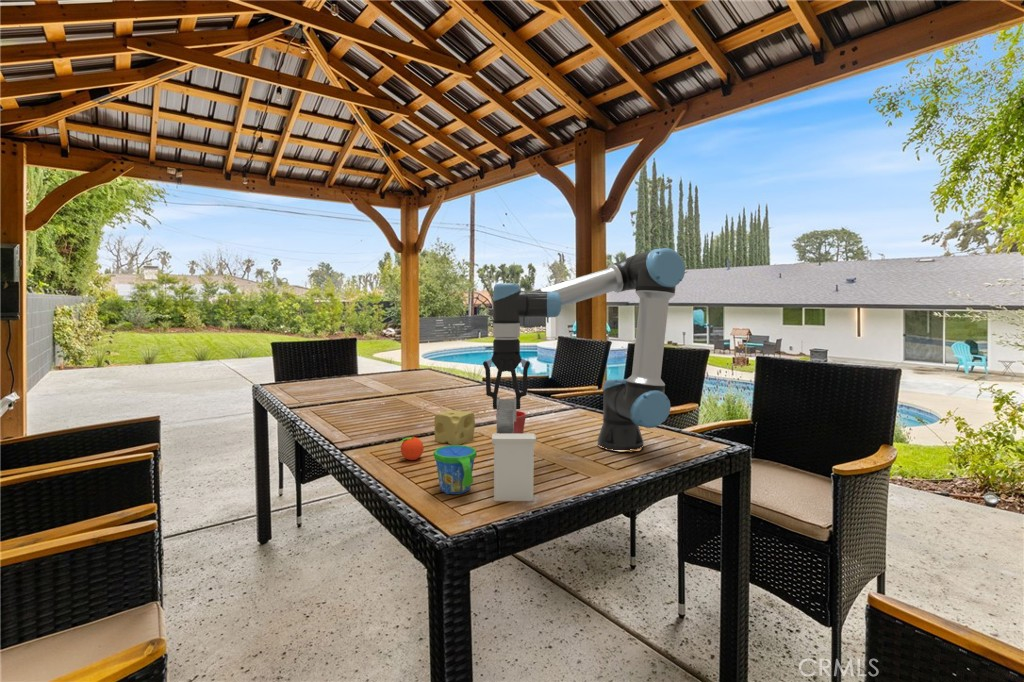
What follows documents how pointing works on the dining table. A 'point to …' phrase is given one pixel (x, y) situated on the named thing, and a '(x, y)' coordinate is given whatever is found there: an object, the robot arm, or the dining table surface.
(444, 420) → the cheese
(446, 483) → the snack cup
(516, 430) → the flower pot
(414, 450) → the clementine
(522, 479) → the tall white pillar
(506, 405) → the rail
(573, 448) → the dining table surface
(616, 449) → the robot arm
